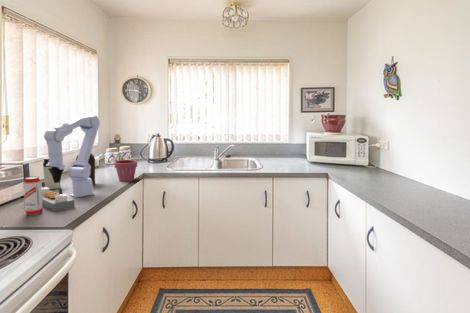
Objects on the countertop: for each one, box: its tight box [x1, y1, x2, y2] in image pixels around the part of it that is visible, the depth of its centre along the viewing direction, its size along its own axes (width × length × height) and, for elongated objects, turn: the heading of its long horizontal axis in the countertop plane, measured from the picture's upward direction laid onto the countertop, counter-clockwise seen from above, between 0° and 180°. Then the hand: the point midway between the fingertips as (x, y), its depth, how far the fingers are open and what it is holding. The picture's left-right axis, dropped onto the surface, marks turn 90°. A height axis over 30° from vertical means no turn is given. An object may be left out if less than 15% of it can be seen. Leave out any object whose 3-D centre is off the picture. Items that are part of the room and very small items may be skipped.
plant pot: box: [113, 159, 138, 183], centre depth 200 cm, size 14×14×13 cm
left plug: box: [41, 181, 51, 194], centre depth 151 cm, size 4×4×6 cm
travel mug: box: [42, 156, 61, 190], centre depth 176 cm, size 8×8×18 cm
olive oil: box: [75, 153, 96, 186], centre depth 185 cm, size 11×11×25 cm
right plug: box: [55, 187, 68, 202], centre depth 139 cm, size 4×4×6 cm
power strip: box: [42, 190, 76, 213], centre depth 146 cm, size 9×26×4 cm, turn 52°
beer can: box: [23, 175, 44, 216], centre depth 131 cm, size 6×6×16 cm
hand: (57, 182), depth 146 cm, fingers closed
